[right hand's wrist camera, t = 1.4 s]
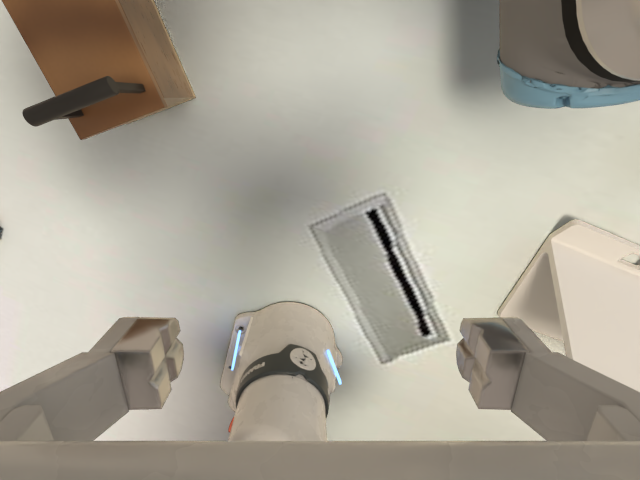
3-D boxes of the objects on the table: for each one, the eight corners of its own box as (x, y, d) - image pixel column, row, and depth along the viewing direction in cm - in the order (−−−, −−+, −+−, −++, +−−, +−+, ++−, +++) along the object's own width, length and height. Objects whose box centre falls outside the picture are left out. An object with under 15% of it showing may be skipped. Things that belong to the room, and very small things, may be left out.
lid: (168, 107, 37) (132, 109, 30) (85, 139, 38) (31, 148, 31) (69, -106, 31) (-6, -167, 24) (-26, -60, 32) (-125, -105, 25)
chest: (195, 97, 46) (164, 98, 37) (128, 123, 47) (80, 130, 38) (128, -58, 40) (70, -105, 31) (53, -24, 41) (-26, -60, 32)
